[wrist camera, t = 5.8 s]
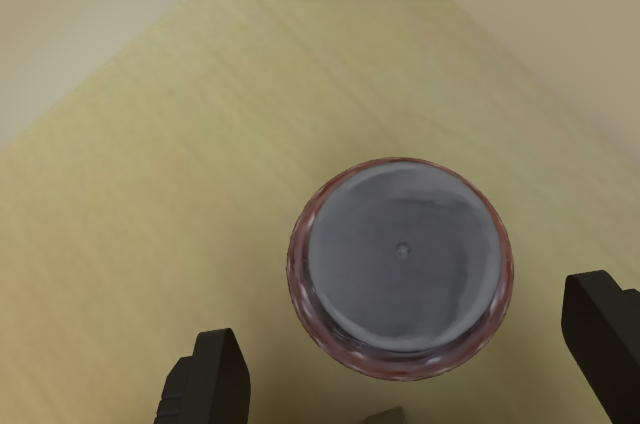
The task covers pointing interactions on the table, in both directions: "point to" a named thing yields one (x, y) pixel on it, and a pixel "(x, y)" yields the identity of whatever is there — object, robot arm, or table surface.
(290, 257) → the supplement bottle
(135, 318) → the table surface
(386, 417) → the shelf
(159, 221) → the table surface
